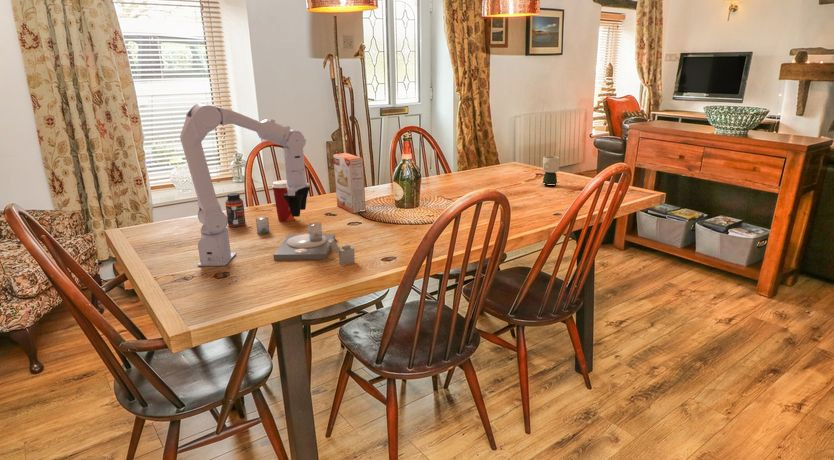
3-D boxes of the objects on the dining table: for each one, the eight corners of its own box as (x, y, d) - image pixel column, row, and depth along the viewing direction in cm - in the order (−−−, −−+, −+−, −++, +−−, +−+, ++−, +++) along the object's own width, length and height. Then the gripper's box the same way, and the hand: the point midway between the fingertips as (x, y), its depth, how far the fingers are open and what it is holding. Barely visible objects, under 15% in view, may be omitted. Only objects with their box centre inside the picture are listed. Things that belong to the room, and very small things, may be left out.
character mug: (549, 182, 239) (551, 154, 235) (563, 185, 234) (565, 156, 230) (535, 186, 232) (537, 157, 228) (549, 189, 227) (551, 159, 223)
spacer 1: (267, 234, 174) (266, 219, 172) (255, 234, 174) (254, 220, 172) (271, 230, 177) (269, 216, 176) (259, 230, 177) (257, 216, 176)
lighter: (352, 260, 149) (350, 234, 147) (355, 262, 148) (353, 235, 145) (329, 266, 145) (327, 239, 143) (332, 267, 144) (330, 240, 142)
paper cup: (298, 221, 188) (295, 183, 183) (276, 223, 185) (272, 185, 181) (295, 215, 195) (291, 178, 190) (274, 217, 192) (270, 180, 188)
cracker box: (336, 206, 206) (332, 153, 199) (349, 204, 209) (346, 152, 203) (352, 214, 195) (348, 158, 188) (366, 211, 198) (363, 157, 191)
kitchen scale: (325, 259, 150) (324, 252, 150) (273, 259, 151) (273, 252, 150) (335, 239, 168) (334, 232, 167) (288, 239, 168) (288, 233, 167)
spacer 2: (320, 242, 158) (319, 226, 157) (307, 241, 159) (306, 226, 157) (324, 238, 162) (322, 222, 160) (311, 237, 162) (310, 222, 161)
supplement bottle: (240, 227, 181) (236, 196, 177) (224, 227, 182) (220, 195, 179) (249, 222, 186) (245, 192, 183) (233, 222, 188) (229, 191, 184)
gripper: (303, 174, 151) (306, 219, 155) (313, 165, 164) (316, 206, 169) (278, 174, 151) (283, 219, 155) (291, 165, 165) (294, 206, 169)
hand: (299, 212), depth 162 cm, fingers open, 7 cm apart
